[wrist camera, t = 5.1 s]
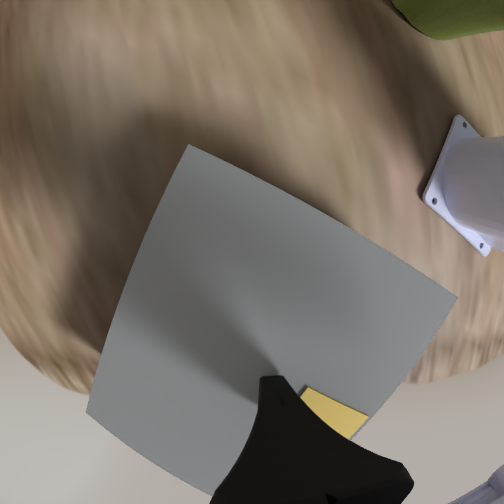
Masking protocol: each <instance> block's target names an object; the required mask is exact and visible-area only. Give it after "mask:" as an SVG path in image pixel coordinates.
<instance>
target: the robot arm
mask: <svg viewBox="0 0 504 504" xmlns="http://www.w3.org/2000/svg"><path fill="white" fill-rule="evenodd" d="M463 124H464V127H463ZM433 198H434V203H432V199H433ZM423 201H424V203H425V204H427V205H428V206H429V207H430V208H431V209H433V210H434V211H435V212H436V213H437V214H438V215H439V216H441V217H442V218H443V219H444V220H445V221H446V222H447V223H449V224H450V225H451V226H452V227H453V228H454V229H455V230H456V231H457V232H458V233H460V234H461V235H462V236H463V237H464V238H465V239H466V240H467V241H468V242H469V243H470V244H471V245H472V246H473V247H474V248H475V249H476V250H477V251H478V252H479V253H480V254H481V255H483V256H487V255H488V254H489V252H490V249H491V247H492V248H494V249H497V250H500V251H502V252H504V137H481V136H480V135H479V134H478V133H477V132H476V131H475V130H474V128H473V127H472V126H471V125H470V124H469V123H468V122H467V121H466V120H465V119H464V118H463V116H461V115H456V116H455V117H454V119H453V122H452V125H451V128H450V130H449V133H448V136H447V138H446V141H445V144H444V146H443V149H442V151H441V154H440V156H439V158H438V161H437V163H436V166H435V168H434V170H433V173H432V175H431V177H430V180H429V182H428V184H427V186H426V188H425V191H424V193H423ZM413 486H414V481H413V479H412V478H411V476H410V474H409V473H408V471H407V469H406V468H405V467H404V465H403V464H402V463H400V462H397V461H394V460H391V459H388V458H385V457H382V456H380V455H377V454H375V453H373V452H371V451H369V450H366V449H364V448H363V447H360V446H359V445H357V444H355V443H354V442H352V441H350V440H348V439H347V438H345V437H344V436H342V435H341V434H339V433H338V432H337V431H335V430H334V429H333V428H331V427H330V426H329V425H328V424H326V423H325V422H324V421H323V420H322V419H321V418H320V417H319V416H317V415H316V414H315V413H314V412H313V411H312V410H311V409H310V408H309V407H308V405H307V404H306V403H305V402H304V401H303V400H302V399H301V398H300V397H299V395H298V394H297V393H296V392H295V390H294V389H293V388H292V387H291V385H290V384H289V383H288V381H287V380H286V379H285V377H284V376H283V375H275V376H262V377H261V378H260V380H259V396H258V411H257V414H256V417H255V421H254V424H253V427H252V430H251V432H250V435H249V437H248V439H247V442H246V444H245V446H244V448H243V450H242V452H241V454H240V456H239V457H238V459H237V461H236V462H235V464H234V465H233V467H232V469H231V470H230V472H229V473H228V475H227V476H226V477H225V479H224V480H223V481H222V482H221V484H220V485H219V486H218V488H217V489H216V490H215V492H214V495H213V497H212V499H211V501H210V504H401V503H402V502H403V500H404V499H405V498H406V497H407V495H408V494H409V493H410V492H411V490H412V488H413ZM448 504H504V465H502V466H501V467H500V468H499V469H497V470H496V471H495V472H494V473H493V474H492V476H491V477H490V478H489V479H488V481H486V482H485V483H483V484H482V485H480V486H478V487H477V488H475V489H474V490H472V491H470V492H469V493H467V494H465V495H463V496H461V497H460V498H458V499H456V500H454V501H452V502H450V503H448Z"/></svg>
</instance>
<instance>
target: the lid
mask: <svg viewBox="0 0 504 504" xmlns="http://www.w3.org/2000/svg"><path fill="white" fill-rule="evenodd" d="M457 298H458V297H457V296H455V295H454V294H452V293H451V292H449V291H448V290H447V289H445V288H444V287H442V286H441V285H439V284H438V283H436V282H435V281H433V280H432V279H430V278H429V277H427V276H426V275H424V274H423V273H421V272H420V271H418V270H417V269H415V268H414V267H412V266H411V265H409V264H407V263H406V262H404V261H403V260H401V259H400V258H398V257H396V256H395V255H393V254H392V253H390V252H388V251H387V250H385V249H384V248H382V247H380V246H379V245H377V244H375V243H374V242H372V241H371V240H369V239H367V238H366V237H364V236H362V235H361V234H359V233H357V232H355V231H354V230H352V229H350V228H349V227H347V226H345V225H344V224H342V223H340V222H338V221H337V220H335V219H333V218H331V217H330V216H328V215H326V214H324V213H323V212H321V211H319V210H317V209H315V208H314V207H312V206H310V205H308V204H306V203H305V202H303V201H301V200H299V199H297V198H295V197H294V196H292V195H290V194H288V193H286V192H284V191H282V190H281V189H279V188H277V187H275V186H273V185H271V184H269V183H267V182H265V181H263V180H261V179H259V178H257V177H255V176H254V175H252V174H250V173H248V172H246V171H244V170H242V169H240V168H238V167H236V166H234V165H232V164H229V163H227V162H225V161H223V160H221V159H219V158H217V157H215V156H213V155H211V154H209V153H207V152H204V151H202V150H200V149H198V148H196V147H194V146H192V145H189V144H188V146H187V148H186V150H185V152H184V153H183V155H182V157H181V159H180V161H179V163H178V165H177V167H176V169H175V171H174V173H173V175H172V177H171V179H170V181H169V183H168V185H167V188H166V190H165V192H164V194H163V196H162V198H161V200H160V202H159V205H158V207H157V209H156V211H155V213H154V216H153V218H152V220H151V222H150V225H149V227H148V229H147V231H146V234H145V236H144V238H143V241H142V243H141V246H140V248H139V250H138V253H137V255H136V258H135V260H134V263H133V265H132V268H131V270H130V273H129V276H128V278H127V281H126V283H125V286H124V289H123V291H122V294H121V297H120V300H119V303H118V305H117V308H116V311H115V314H114V317H113V320H112V323H111V326H110V329H109V332H108V335H107V338H106V341H105V344H104V348H103V351H102V354H101V358H100V361H99V364H98V368H97V371H96V375H95V379H94V382H93V386H92V390H91V394H90V397H89V401H88V406H87V410H86V413H87V414H89V415H90V416H91V417H92V418H93V419H94V420H96V421H97V422H98V423H99V424H100V425H102V426H103V427H104V428H105V429H107V430H108V431H109V432H110V433H112V434H113V435H114V436H116V437H117V438H118V439H120V440H121V441H122V442H124V443H125V444H126V445H128V446H129V447H131V448H132V449H133V450H135V451H136V452H138V453H139V454H141V455H142V456H144V457H145V458H147V459H148V460H150V461H151V462H153V463H154V464H156V465H157V466H159V467H161V468H162V469H164V470H166V471H167V472H169V473H170V474H172V475H174V476H175V477H177V478H179V479H181V480H182V481H184V482H186V483H188V484H190V485H192V486H193V487H195V488H197V489H199V490H201V491H203V492H205V493H207V494H209V495H211V496H213V495H214V492H215V490H216V489H217V488H218V486H219V485H220V484H221V482H222V481H223V480H224V479H225V477H226V476H227V475H228V473H229V472H230V470H231V469H232V467H233V465H234V464H235V462H236V461H237V459H238V457H239V456H240V454H241V452H242V450H243V448H244V446H245V444H246V442H247V439H248V437H249V435H250V432H251V430H252V427H253V424H254V421H255V417H256V414H257V411H258V396H259V380H260V378H261V377H262V376H275V375H283V376H284V377H285V379H286V380H287V381H288V383H289V384H290V385H291V387H292V388H293V389H294V390H295V392H296V393H297V394H298V395H299V397H300V398H301V399H302V400H303V401H304V402H305V403H306V404H307V405H308V407H309V408H310V409H311V410H312V411H313V412H314V413H315V414H316V415H317V416H319V417H320V418H321V419H322V420H323V421H324V422H325V423H326V424H328V425H329V426H330V427H331V428H333V429H334V430H335V431H337V432H338V433H339V434H341V435H342V436H344V437H345V438H347V439H348V440H351V439H352V438H353V437H354V436H355V435H356V434H357V433H358V432H359V431H360V430H361V429H362V427H364V426H365V425H366V424H367V422H368V421H369V420H370V419H371V418H372V417H373V416H374V415H375V413H376V412H377V411H378V410H379V409H380V408H381V407H382V406H383V404H384V403H385V402H386V401H387V399H388V398H389V397H390V396H391V395H392V394H393V392H394V391H395V390H396V389H397V387H398V386H399V385H400V384H401V382H402V381H403V380H404V378H405V377H406V376H407V374H408V373H409V372H410V371H411V369H412V368H413V366H414V365H415V364H416V362H417V361H418V360H419V358H420V357H421V355H422V354H423V352H424V351H425V350H426V348H427V347H428V345H429V344H430V342H431V341H432V339H433V338H434V336H435V335H436V333H437V332H438V330H439V328H440V327H441V325H442V324H443V322H444V320H445V319H446V317H447V315H448V314H449V312H450V310H451V309H452V307H453V305H454V304H455V302H456V300H457Z"/></svg>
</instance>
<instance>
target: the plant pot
mask: <svg viewBox="0 0 504 504" xmlns="http://www.w3.org/2000/svg"><path fill="white" fill-rule="evenodd" d="M391 1H392V2H393V4H394V6H395V7H396V8H397V9H398V10H399V11H401V12H402V13H403V14H404V15H405V17H406V18H407V19H408V21H409V22H410V24H411V25H412V26H414V27H415V28H416V29H418V30H419V31H421V32H422V33H424V34H425V35H427V36H429V37H432V38H435V39H438V40H449V39H454V38H459V37H464V36H469V35H474V34H480V33H486V32H492V31H500V30H504V0H391Z"/></svg>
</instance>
